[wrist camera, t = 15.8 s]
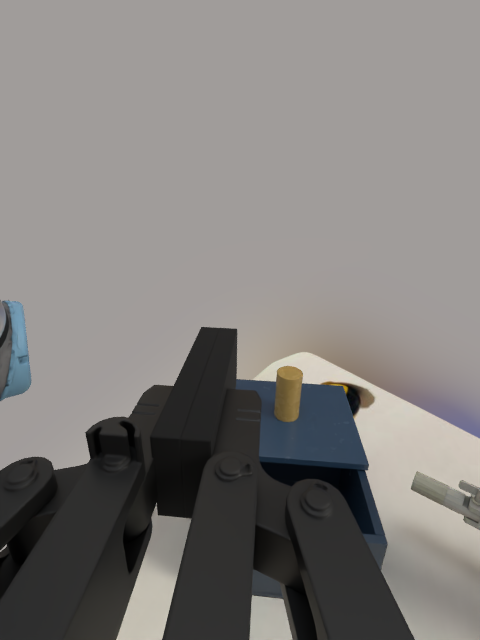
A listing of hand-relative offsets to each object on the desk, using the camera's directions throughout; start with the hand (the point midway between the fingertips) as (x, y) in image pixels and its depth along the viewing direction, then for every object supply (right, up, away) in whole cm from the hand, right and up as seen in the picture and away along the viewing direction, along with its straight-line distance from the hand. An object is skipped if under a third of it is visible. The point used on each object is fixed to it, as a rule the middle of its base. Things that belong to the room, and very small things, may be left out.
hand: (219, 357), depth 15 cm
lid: (+7, -11, +28) cm, 31 cm away
